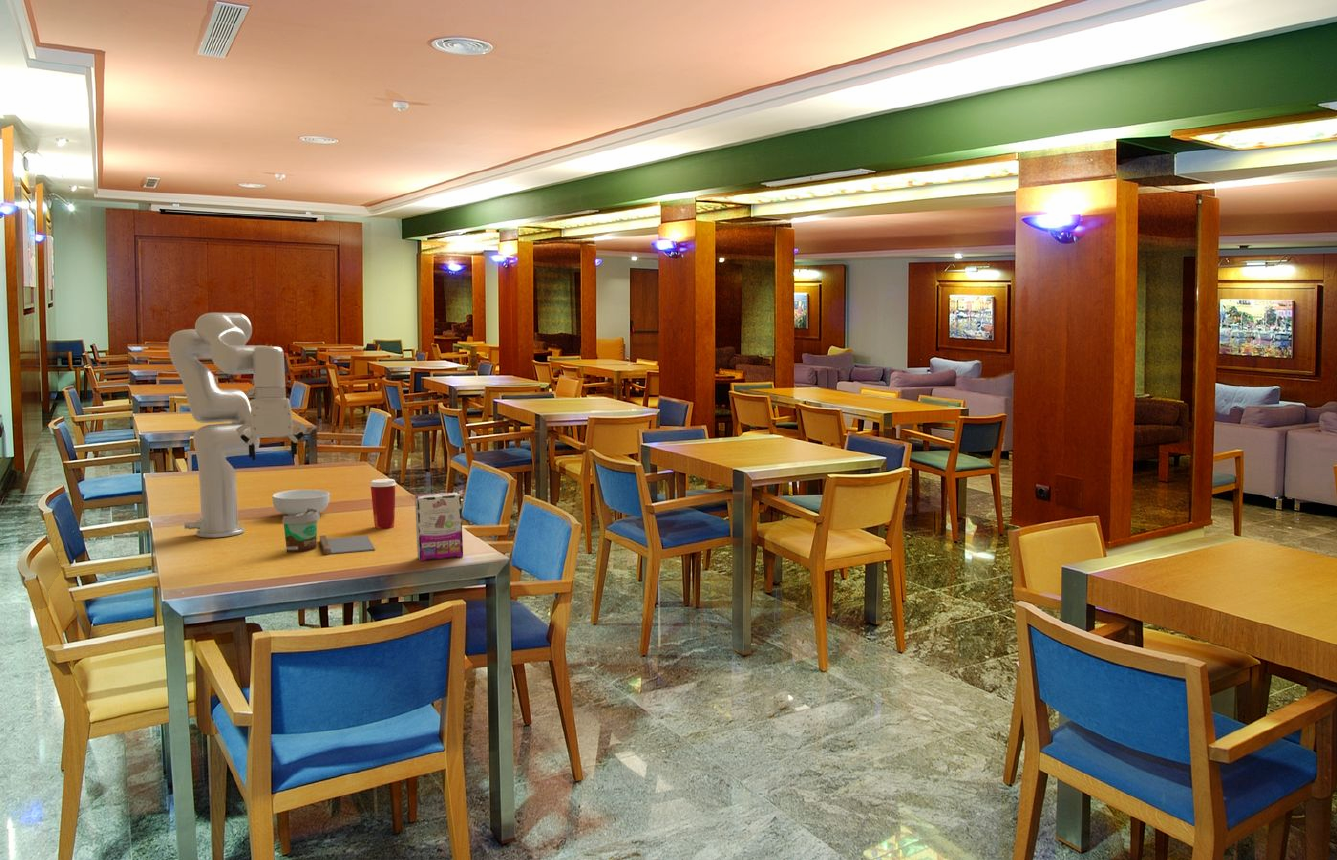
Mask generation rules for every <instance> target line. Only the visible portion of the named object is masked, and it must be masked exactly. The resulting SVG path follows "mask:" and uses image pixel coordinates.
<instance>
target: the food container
mask: <svg viewBox="0 0 1337 860" xmlns="http://www.w3.org/2000/svg"><path fill="white" fill-rule="evenodd" d="M320 519H321V517H320V512H318V511H317V510H316V509H311V508H307V512H305V513H298V514H295V515H293V516H288V515H282V521H281V522H282V525H283V528H284V538H285V548H286V549H285V550H286V553H288V554H289V553H290V554H291V553H292V554H293V553H294V554H295V553H305V552H310V551H315V549H317V538H318V520H320Z"/></svg>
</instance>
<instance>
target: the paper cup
mask: <svg viewBox="0 0 1337 860" xmlns="http://www.w3.org/2000/svg"><path fill="white" fill-rule="evenodd" d="M396 485H397V482H396V480H395V479H393V478H377V479H372V480H371V481H370V484H369V487H370V492H371V503H372V513H373V521H374V522H373V523H374V524H373V525H374V528H375V529H379V530H382V529H385V530H386V529H392V528H394V527H395V519H396V516H395V515H396V513H395V512H396Z"/></svg>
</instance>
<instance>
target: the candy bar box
mask: <svg viewBox="0 0 1337 860" xmlns="http://www.w3.org/2000/svg"><path fill="white" fill-rule="evenodd" d="M414 502H415V503H414V505H415V525H416V526H415V527H416V528H415V529H416V532H415V533H416V548H417V550H416V552H417V558H418V559H419V561H420V562H425V561H436V560H446V559H455V558H463V557H464V546H463V543H464V542H463V541H464V540H463V517H462V516H463V514H462V496H461V494H460V493H459V492H445V493H434V494H421V495H415V496H414Z"/></svg>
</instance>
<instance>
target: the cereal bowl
mask: <svg viewBox="0 0 1337 860" xmlns="http://www.w3.org/2000/svg"><path fill="white" fill-rule="evenodd" d="M330 496H331V495H330V492H329V491H326V490H321V489H292V490H285V491H279V492H276V493H274V494H273V495H272V498H271V499H272V504H273V507H274V509H275V510H276V511H277V512H279V513H280V514H283V515H285V516H293V515H295V514H298V513H305V512H307V508H311V509H316V510H317V511H318V513H320V512H322V511H324V510H325V509H326V508H327V507H328V506H329V503H330V498H331V497H330Z"/></svg>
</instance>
